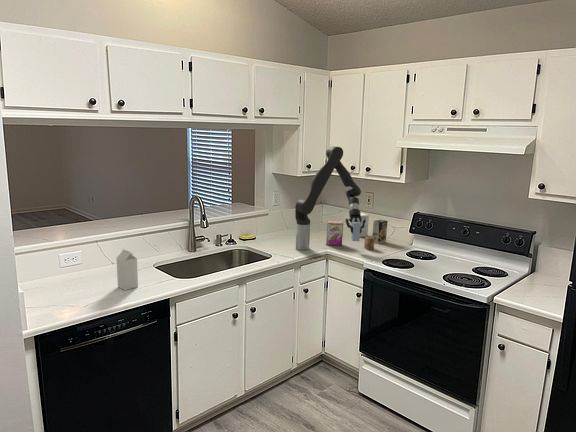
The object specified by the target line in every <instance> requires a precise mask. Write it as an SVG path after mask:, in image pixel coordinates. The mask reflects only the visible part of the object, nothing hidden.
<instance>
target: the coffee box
mask: <svg viewBox="0 0 576 432" xmlns="http://www.w3.org/2000/svg"><path fill="white" fill-rule="evenodd" d="M387 233H388V220H385V219H378V220H373V225H372V234H371V235H372V236H371V237H373V238H375V240H374V244H378V245H380V244H385V243H386V242H387V236H388V235H387Z"/></svg>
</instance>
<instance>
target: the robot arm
mask: <svg viewBox="0 0 576 432" xmlns="http://www.w3.org/2000/svg"><path fill="white" fill-rule="evenodd" d="M325 155H326V158H327V161H326V162H325V164H324V165H322V167H321V168H320V169H319V170H318V171H316V173H315V174H314V176H313V179H312V180H311V183H310V191H309V194H308V195H307V197H306V199H299V200H297V202H296V204H295V207H294V208H295V209H294V211H295V212H294V215H295V221H296V224H295V225H296V227H295V229H296V230H295V250H299V251H307V250H309V249H310V241H311V240H310V239H311V238H310V236H311V219H310V218H309V216H308V215H310V214H311V213H312V212H313V210H314V209H315V206H316V203H317V201H318V199H319V197H320V196H321V193H322V191H323V190H324V187H326V185H327V183H328V182H329V179H330V177H331V175H332V173H333V172H334V170H335V171H336V172H337V174H338V176H339V178H340V180H341V182H342V183H343V186H344V187H346V188H347V187H349V188H347V189H346V190H345V196H346V198H347V200H348V213H349V215H348V217H349V218H345V221H344V222H345V224H346V226H347V228H349V230H350V233H351V232H352V233H353V222H361V221H362V223H363V225H362V226H361V224H360V233H361V232H362V228H364V225H365V221H366V220H365V219H364V220H363V219H361V214H360V213H361V207H360V199H359V198H358V196H361V194H362V190H361V188H360V187H359V186H358V184H357V183H356V182H355V181H354V179H353V177H352V175H351V174H350V172H349V170H348V169H347V168H346V166H344V164H343V163H342V162H341V160H342V158H343V156H344V149H343V148H342V147H341V146H329V147H327V149H326V151H325ZM350 223H351V224H350Z"/></svg>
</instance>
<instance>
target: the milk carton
mask: <svg viewBox="0 0 576 432" xmlns="http://www.w3.org/2000/svg"><path fill="white" fill-rule="evenodd" d="M116 272H117V273H116V276H117V280H116V281H117V288H120V289H122V291H127V290H131V289H134V288H138V287H139V278H138V258H137V257H136V256H135V255H134V253H133V252H132V251H130V250H127V249H125V248H122V251H121V252H120V253H119V254H118V256H117V257H116Z"/></svg>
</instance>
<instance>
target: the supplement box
mask: <svg viewBox="0 0 576 432" xmlns="http://www.w3.org/2000/svg"><path fill="white" fill-rule="evenodd" d="M360 214H361V219H363V220H364V219H365V220H366V221H365V225H364V228H362V232H361V233H360V237H359V238H362V237H363V238H365V237H368V235H369V234H368V232H369V217H370V215H369V214H367V213H363V212H360ZM360 223H361V226H362V225H363V223H362V221H361V222H360ZM350 234H351V235H352V232H351V231H350Z"/></svg>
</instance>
